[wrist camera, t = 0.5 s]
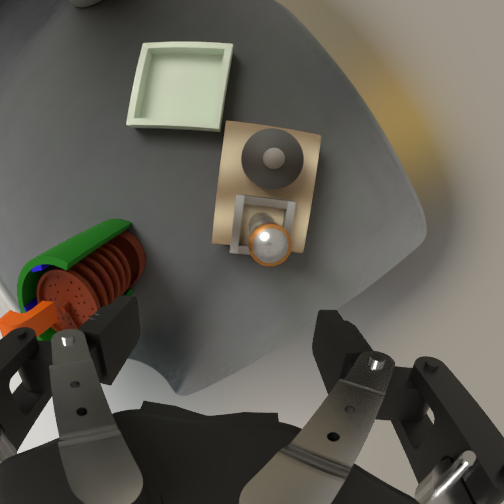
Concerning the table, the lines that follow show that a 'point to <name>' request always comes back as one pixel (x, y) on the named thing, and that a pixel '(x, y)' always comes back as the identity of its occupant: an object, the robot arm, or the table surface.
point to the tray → (180, 86)
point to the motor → (76, 279)
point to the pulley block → (264, 182)
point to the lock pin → (268, 240)
